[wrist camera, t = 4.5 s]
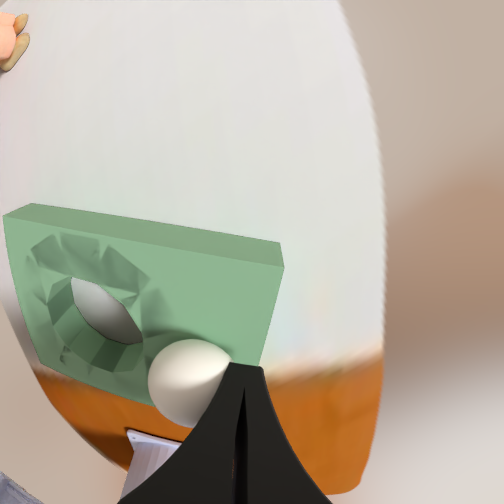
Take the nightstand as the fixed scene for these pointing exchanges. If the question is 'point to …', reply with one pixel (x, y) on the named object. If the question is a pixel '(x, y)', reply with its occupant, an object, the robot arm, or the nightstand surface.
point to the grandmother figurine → (12, 39)
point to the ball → (186, 379)
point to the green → (138, 290)
